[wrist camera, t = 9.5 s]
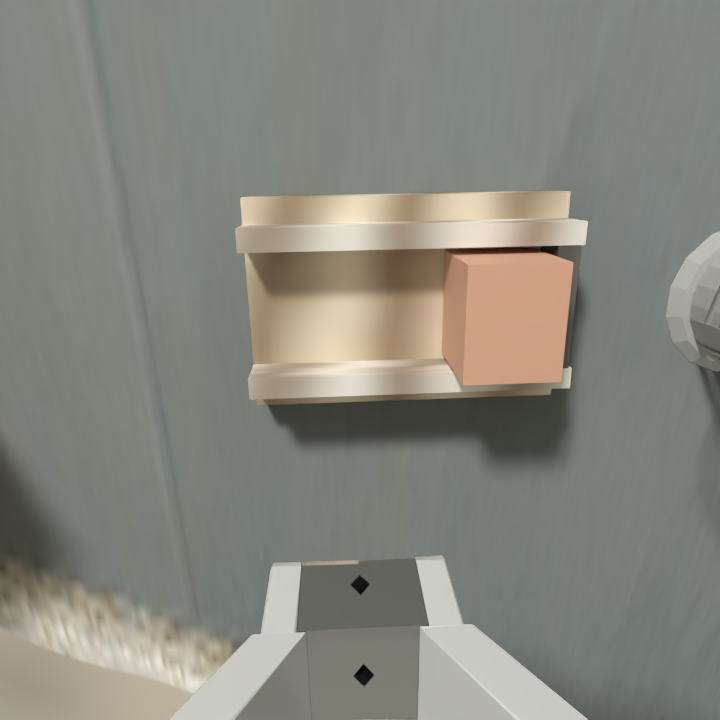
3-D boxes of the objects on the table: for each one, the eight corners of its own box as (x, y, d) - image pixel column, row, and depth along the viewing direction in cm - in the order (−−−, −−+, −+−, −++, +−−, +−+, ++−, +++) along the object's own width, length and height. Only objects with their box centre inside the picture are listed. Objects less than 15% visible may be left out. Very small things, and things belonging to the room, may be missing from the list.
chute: (556, 190, 33) (591, 192, 28) (539, 383, 36) (567, 410, 32) (245, 196, 32) (232, 199, 27) (260, 393, 35) (251, 422, 31)
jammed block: (532, 247, 31) (573, 262, 26) (524, 349, 33) (561, 382, 28) (444, 249, 31) (468, 265, 26) (441, 352, 33) (462, 385, 28)
